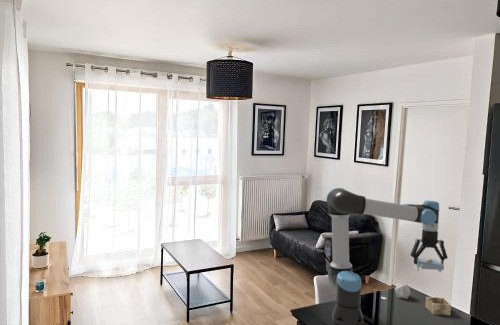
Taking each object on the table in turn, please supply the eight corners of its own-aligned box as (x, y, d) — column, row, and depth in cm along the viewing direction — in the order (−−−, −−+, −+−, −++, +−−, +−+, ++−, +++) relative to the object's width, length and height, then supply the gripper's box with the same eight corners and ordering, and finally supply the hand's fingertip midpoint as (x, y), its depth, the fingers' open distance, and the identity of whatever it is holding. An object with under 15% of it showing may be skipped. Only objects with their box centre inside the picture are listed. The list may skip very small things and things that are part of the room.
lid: (421, 270, 188) (422, 262, 188) (413, 263, 199) (414, 256, 199) (443, 271, 187) (444, 263, 187) (434, 264, 198) (434, 257, 198)
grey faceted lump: (390, 295, 215) (391, 286, 210) (400, 286, 219) (401, 276, 213) (403, 305, 209) (404, 295, 203) (413, 296, 212) (414, 286, 207)
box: (432, 315, 190) (433, 303, 189) (425, 307, 199) (426, 296, 198) (450, 316, 189) (451, 304, 189) (442, 308, 198) (443, 297, 198)
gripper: (410, 230, 190) (408, 271, 190) (456, 232, 188) (454, 274, 189) (404, 227, 197) (403, 267, 198) (449, 229, 195) (447, 269, 196)
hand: (428, 270), depth 193 cm, fingers closed on lid, 11 cm apart
